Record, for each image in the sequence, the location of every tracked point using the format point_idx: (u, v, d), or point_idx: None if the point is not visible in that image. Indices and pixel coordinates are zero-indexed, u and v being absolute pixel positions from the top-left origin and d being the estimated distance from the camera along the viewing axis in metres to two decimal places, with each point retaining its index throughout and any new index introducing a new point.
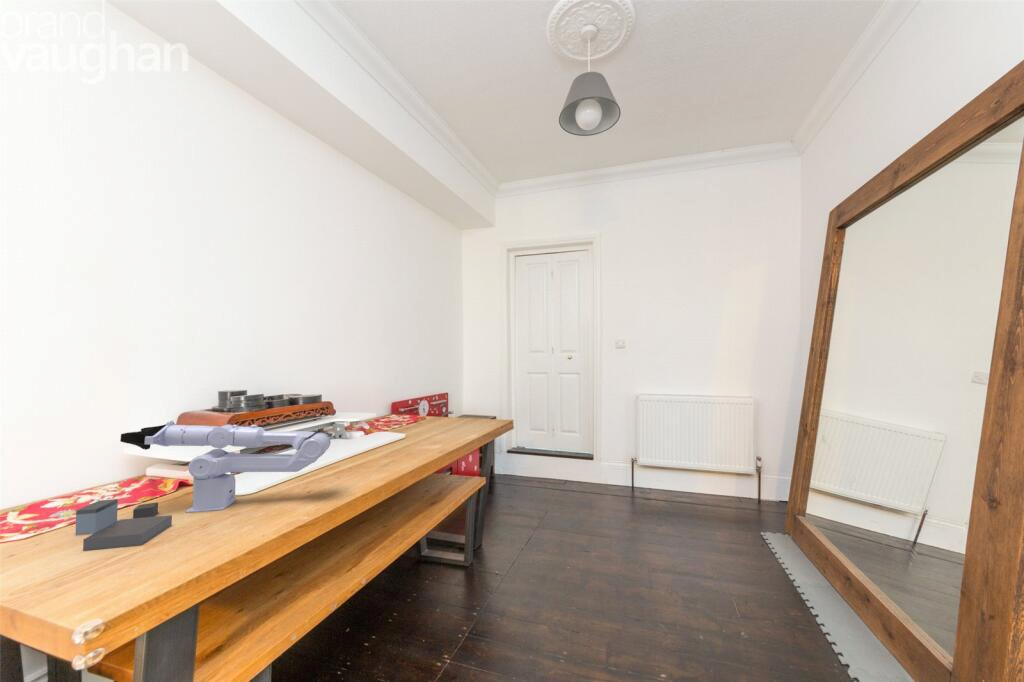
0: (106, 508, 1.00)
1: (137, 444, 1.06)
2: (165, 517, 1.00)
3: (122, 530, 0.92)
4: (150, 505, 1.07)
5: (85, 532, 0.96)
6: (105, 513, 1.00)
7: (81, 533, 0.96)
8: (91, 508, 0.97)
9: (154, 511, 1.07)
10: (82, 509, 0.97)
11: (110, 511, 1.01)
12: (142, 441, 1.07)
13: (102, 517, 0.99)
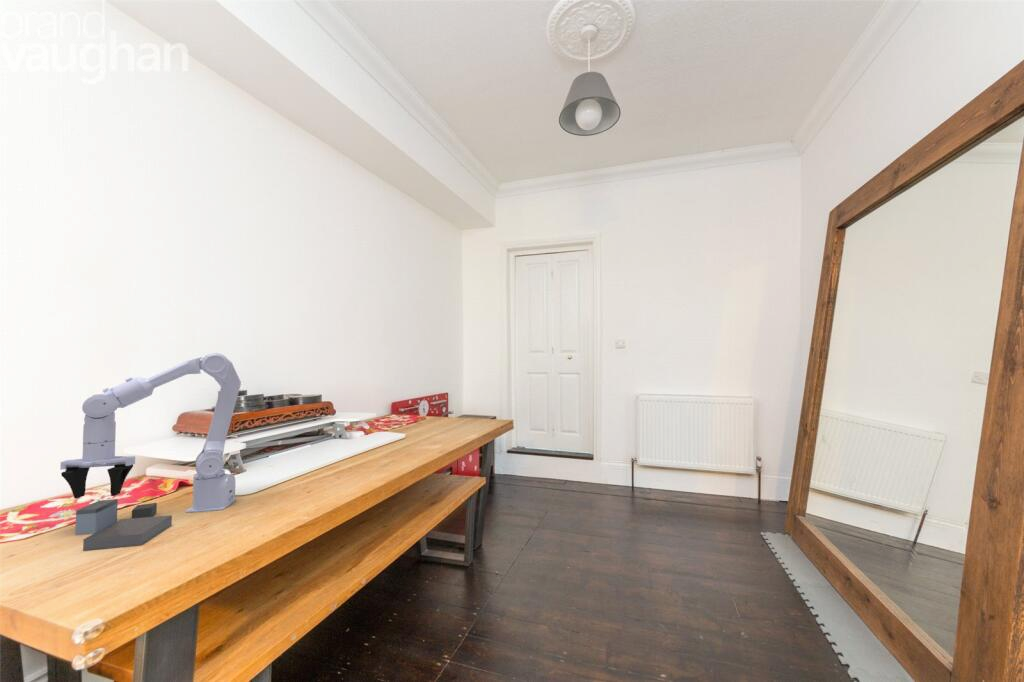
0: (106, 508, 1.00)
1: (127, 474, 1.03)
2: (165, 517, 1.00)
3: (122, 530, 0.92)
4: (149, 505, 1.07)
5: (85, 532, 0.96)
6: (105, 513, 1.00)
7: (81, 533, 0.96)
8: (91, 508, 0.97)
9: (153, 511, 1.07)
10: (82, 509, 0.97)
11: (110, 511, 1.01)
12: (121, 472, 1.02)
13: (102, 517, 0.99)
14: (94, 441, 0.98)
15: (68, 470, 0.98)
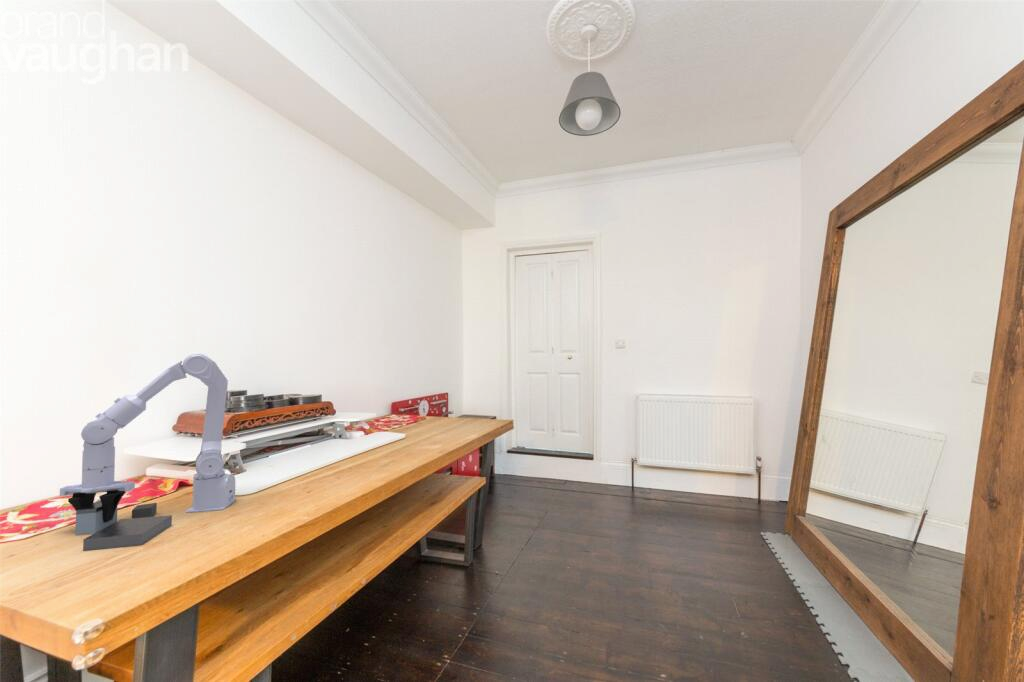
0: None
1: (119, 499, 1.02)
2: (165, 517, 1.00)
3: (122, 530, 0.92)
4: (149, 505, 1.07)
5: (85, 532, 0.96)
6: None
7: (81, 533, 0.96)
8: (91, 508, 0.97)
9: (153, 511, 1.07)
10: (82, 509, 0.97)
11: None
12: (113, 498, 1.01)
13: (102, 517, 0.99)
14: (93, 467, 0.98)
15: (75, 496, 0.98)
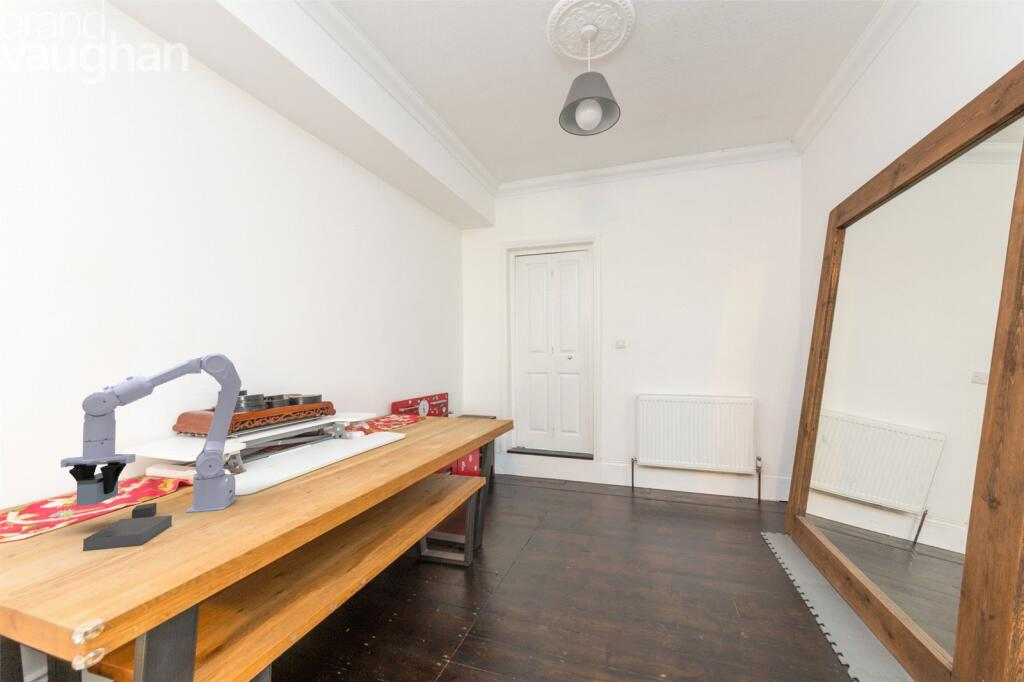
0: None
1: (120, 472, 1.02)
2: (165, 517, 1.00)
3: (122, 530, 0.92)
4: (149, 505, 1.07)
5: (86, 502, 0.97)
6: None
7: (82, 503, 0.96)
8: (92, 479, 0.98)
9: (153, 511, 1.07)
10: (83, 480, 0.97)
11: None
12: (114, 471, 1.02)
13: (103, 488, 0.99)
14: (94, 439, 0.98)
15: (76, 468, 0.98)
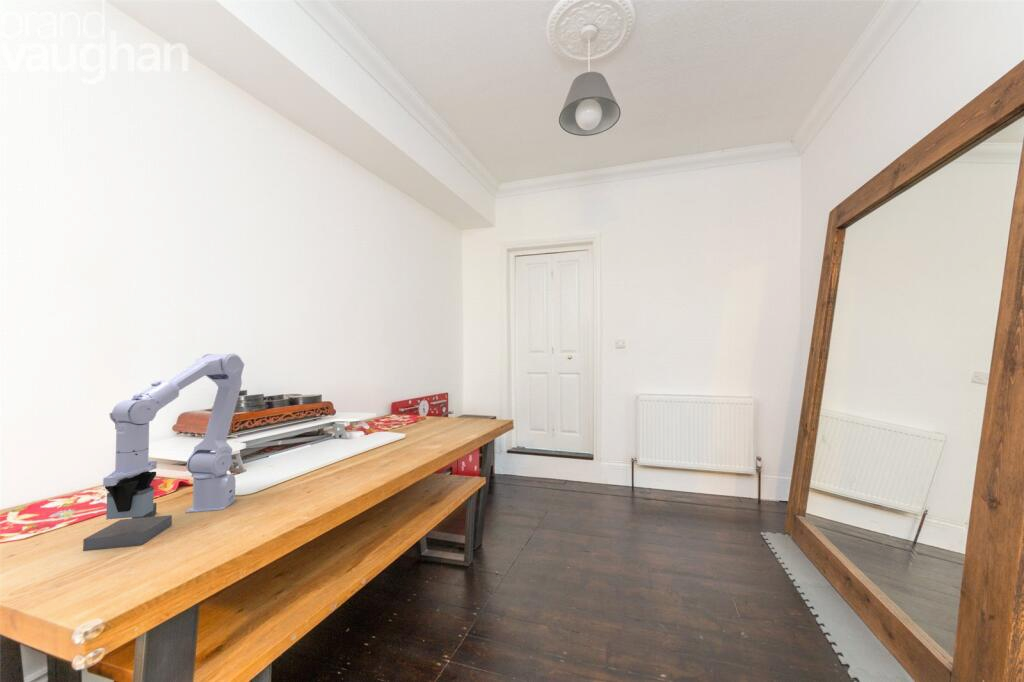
0: None
1: None
2: (165, 517, 1.00)
3: (122, 530, 0.92)
4: None
5: (147, 510, 0.95)
6: None
7: (145, 512, 0.95)
8: (146, 487, 0.96)
9: (153, 511, 1.07)
10: (142, 489, 0.94)
11: None
12: None
13: None
14: (139, 448, 0.94)
15: (125, 482, 0.91)
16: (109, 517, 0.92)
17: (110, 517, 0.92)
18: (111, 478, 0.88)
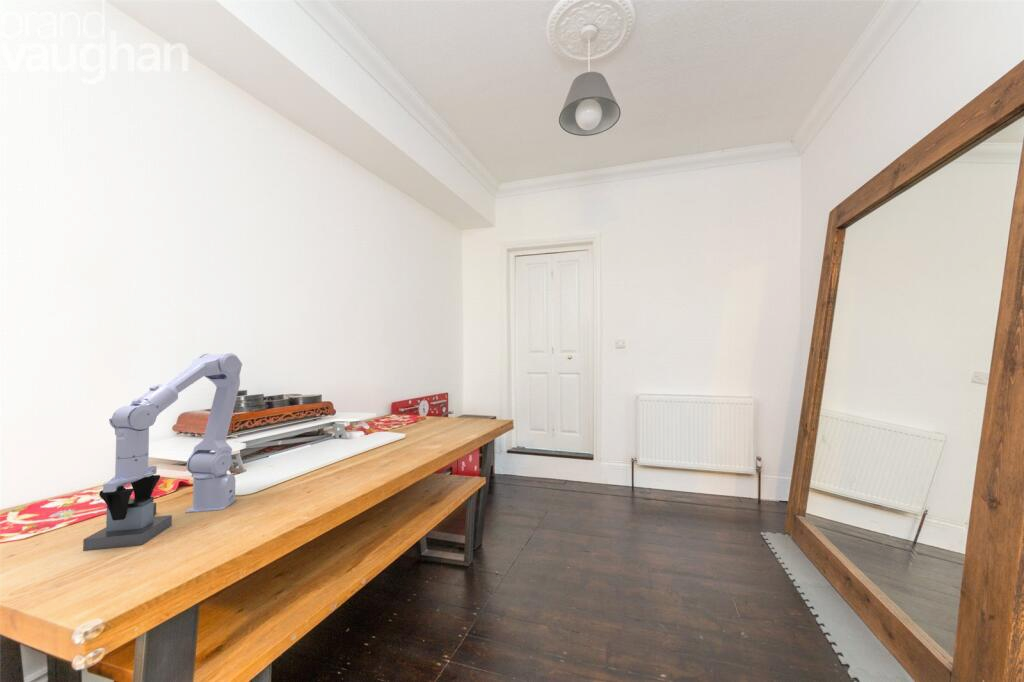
0: None
1: None
2: (165, 517, 1.00)
3: (122, 530, 0.92)
4: None
5: (147, 522, 0.95)
6: None
7: (145, 524, 0.94)
8: (146, 499, 0.96)
9: (153, 511, 1.07)
10: (142, 501, 0.94)
11: None
12: None
13: None
14: (139, 454, 0.94)
15: (120, 490, 0.90)
16: (109, 529, 0.92)
17: (110, 529, 0.92)
18: (111, 484, 0.88)
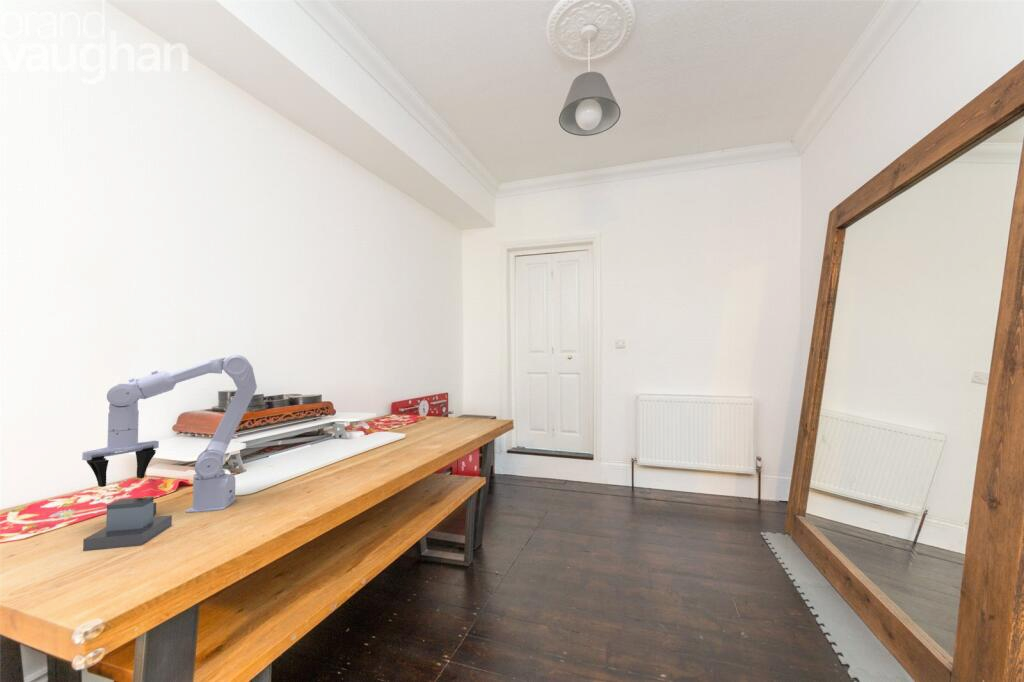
0: None
1: None
2: (165, 517, 1.00)
3: (122, 530, 0.92)
4: None
5: (147, 522, 0.95)
6: None
7: (145, 524, 0.94)
8: (146, 499, 0.96)
9: (153, 511, 1.07)
10: (142, 501, 0.94)
11: None
12: None
13: None
14: (118, 429, 1.02)
15: (96, 460, 0.98)
16: (109, 529, 0.92)
17: (110, 529, 0.92)
18: (85, 453, 0.97)
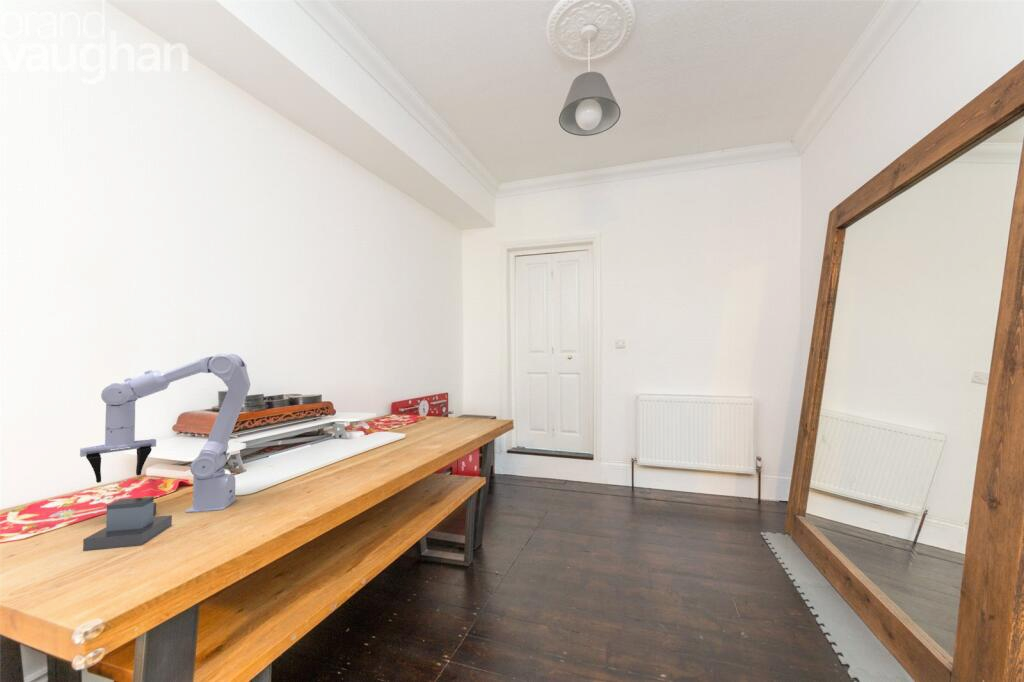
0: None
1: None
2: (165, 517, 1.00)
3: (122, 530, 0.92)
4: None
5: (147, 522, 0.95)
6: None
7: (145, 524, 0.94)
8: (146, 499, 0.96)
9: (153, 511, 1.07)
10: (142, 501, 0.94)
11: None
12: None
13: None
14: (111, 427, 1.05)
15: (90, 456, 1.02)
16: (109, 529, 0.92)
17: (110, 529, 0.92)
18: (80, 450, 1.01)
